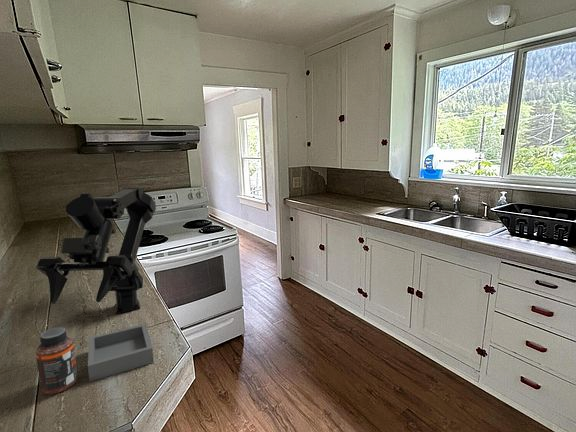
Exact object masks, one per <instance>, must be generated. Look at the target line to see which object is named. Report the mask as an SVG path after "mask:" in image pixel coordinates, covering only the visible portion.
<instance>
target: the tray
mask: <svg viewBox="0 0 576 432" xmlns="http://www.w3.org/2000/svg"><path fill="white" fill-rule="evenodd" d="M147 327H148V326H147V324H146V323H143V324H139V325H135V326H131V327H126V328H122V329H118V330H114V331H109V332H105V333H101V334H97V335H91V336H89V338H88V339H89V340H88V354H87V371H88V380H89V382H93V381H96V380H101V379H103V378H107V377H111V376H113V375H116V374H119V373H123V372H127V371H130V370H133V369H136V368H140V367H143V366H147V365H150V364H153V363H154V350H153V348H154V347H153V346H152V345H153V344H152V342H151V338H150V335H149V331H148V328H147Z"/></svg>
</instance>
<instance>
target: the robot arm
mask: <svg viewBox="0 0 576 432" xmlns="http://www.w3.org/2000/svg"><path fill="white" fill-rule="evenodd" d="M156 207H157V205H156V202H155V201H154V199H153V197H152V196H151V195H149V194H148V193H146V192H144V190H143V189H142V188H141V187H125V188H123V189H121V190H120V191H118V192H116V193H114V194H112V195H110V196H98V197H96V196H95V197H93V196H92V194H91V193H81V194H80V195H79V197H76V198H74V199H72V200H71V201H70V202H69V203H67V204H66V206H65V212H66V214H67V215H68V216H69V217H70V218H71V220H72V221H73V222H74V223H75V224H76V226H77V227H78V228H80V229H81V230H84V232H83V234H82V237H64V238H62V243H61V249H60V250H61V251H60V253H61V254H68V258H69V259H70V260H73V261H71V262H70V261H69V262H65V260H63V259H62V258H61V257H60V256H48V257H47V256H45V257H41V258H40V259H39V260H38V261H37V264H36V265H35V269H36V270H37V271H39V272H40V273H42V274H44V275H45V276H46V277H47V279H48V283H49V301H50V304H51V305H56V302H57V301H58V300H59V299H60V296H61V294H62V291H63V289H64V287H65V285H66V283H67V281H68V278H67V276H68V275H69V273H70V272H73V271H74V272H77V271H102V272H103V273H102V279H101V282H100V285H99V287H98V290H97V293H96V299H95V301H96V302H97V303H101V302H102V300H103V299H104V297H106V295H107V294H108V293H109V292H114V294H115V304H114V309H115V311H114V313H115V314H121V313H126V312H130V311H131V312H132V311H135V310H140V309H141V306H140V305H141V304H140V302H139V299H138V292H137V291H139V290H140V289H142V288H144V277H143V276H142V275H141V273H140V271H139V267H138V265H137V263H136V260H137V255H138V252H139V247H140V243H141V241H142V237H143V233H144V229H145V225H146V224H147V223H148V222H150V221H151V220H152V219H153V216H154V213H155V212H156V209H157V208H156ZM125 209H126V212H127V214H128V217H129V220H128V223H127V227H126V230H125V233H124V236H123V240H122V243H121V246H120V249H119V253H118V254H117V255H109V256H107V257H106V254H108V253H109V252H110V248H109V247H108V246H109V243H110V239H111V236H112V234H116V228H115V226H114V225H113V223H112V222H111V220H119V219H120V218H122V216H123V215H124V214H125ZM105 257H106V261H105V260H104V259H105Z"/></svg>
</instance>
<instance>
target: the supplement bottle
mask: <svg viewBox="0 0 576 432" xmlns="http://www.w3.org/2000/svg"><path fill="white" fill-rule="evenodd" d="M39 337H40V338H39V340H40V344H38V346H36V349H35V358H36V364H37V365H36V366H37V372H38V379H39V385H40V389H41V392H43V393H44V394H46V395H47V394H48V395H52V394H58V393H60V392H64V391H65V390H68V389H69V388H70V387H71V388H72V386H73V385H74V384H75V383H76V382H77V380H78V370H77V361H76V359H77V358H76V353H75V352H76V351H75V344H74V340H73V338H72V337H71V336H68V335H67V332H66V328H65V327H54V328H50V329H48V330H45V331H44V332H42V333H41V334H40V336H39Z"/></svg>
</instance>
